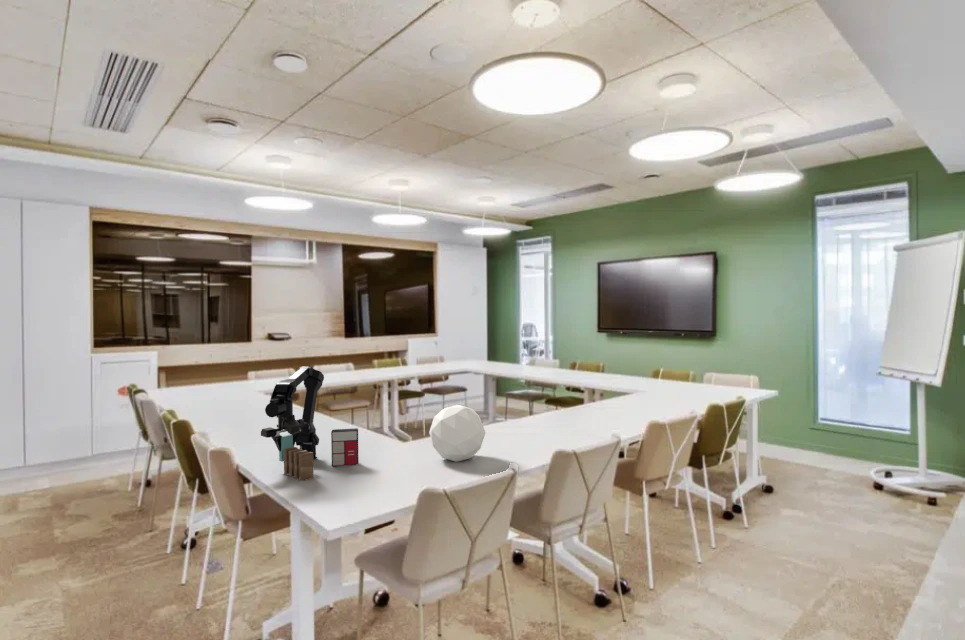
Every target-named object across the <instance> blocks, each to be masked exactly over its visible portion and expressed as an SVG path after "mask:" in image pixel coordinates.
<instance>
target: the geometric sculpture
mask: <svg viewBox="0 0 965 640" xmlns="http://www.w3.org/2000/svg"><path fill="white" fill-rule="evenodd" d="M428 433H429V437H430V440H431V445H432V447H433V448H434V449H435V450H436V452H437V454H438V455H439V456H440V457H441V458H442V459H445V460H449V461H452V462H456V463H458V462H462V461H465V460H468V459H472V458H473V457H474V455H476V453H478V452H479V451H480V449H482V445H483V442H484V439H485V437H486V433H487V432H486V430H485V427H484V424H483V423H482V419H481V417H480V415H479V414H478V413H477V412H476V411H475V409H474V408H471V407H468V406H464V405H460V404H454V405H451V406H448V407H445V408H443V409H441V410H440V411H439V412H438V413H437V414H436V415H434V416H433V419H432V423H431V425H430V428H429V432H428Z"/></svg>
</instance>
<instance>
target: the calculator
mask: <svg viewBox="0 0 965 640" xmlns="http://www.w3.org/2000/svg"><path fill="white" fill-rule="evenodd" d="M330 434H331V443H330V444H331V445H330V446H331V466H332V467H342V466H345V465H346V466H357V465H356V464H358V465H359V463H360V462H359V428H354V427H353V428H342V429H341V428H340V429H339V428H338V429H337V428H335V429H332V430H331V432H330Z"/></svg>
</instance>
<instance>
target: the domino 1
mask: <svg viewBox="0 0 965 640" xmlns="http://www.w3.org/2000/svg"><path fill="white" fill-rule="evenodd" d="M281 436H282V437H281V452H280V451H279V450H278V457H279V458H278V459H279V461H280V462H284V449H288V448H292V447H293V435H291V434H290V433H288V434H284V435H281Z"/></svg>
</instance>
